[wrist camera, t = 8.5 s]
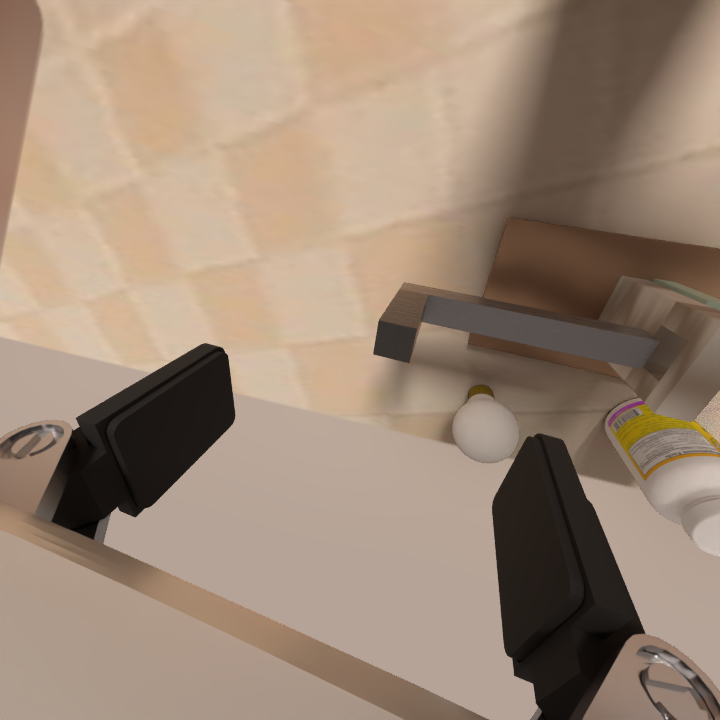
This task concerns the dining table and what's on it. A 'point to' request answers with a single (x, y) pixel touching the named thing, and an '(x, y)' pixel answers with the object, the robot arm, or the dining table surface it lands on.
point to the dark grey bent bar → (506, 327)
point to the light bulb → (485, 427)
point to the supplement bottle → (671, 468)
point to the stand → (618, 304)
